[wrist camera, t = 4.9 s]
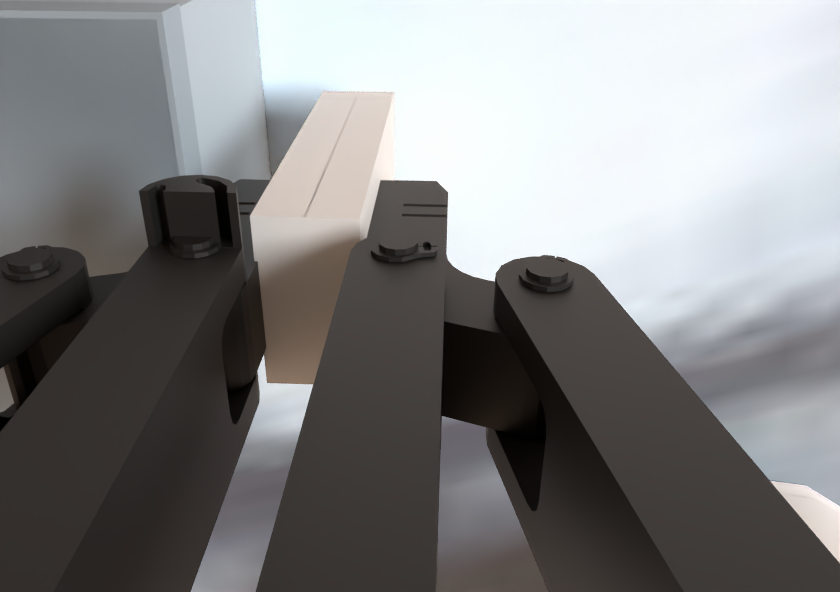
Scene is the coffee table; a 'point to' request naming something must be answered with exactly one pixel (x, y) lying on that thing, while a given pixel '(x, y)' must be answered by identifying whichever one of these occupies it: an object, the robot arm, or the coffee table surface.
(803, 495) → the foam cup
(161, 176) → the gray block
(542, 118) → the coffee table surface
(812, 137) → the coffee table surface
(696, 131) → the coffee table surface
